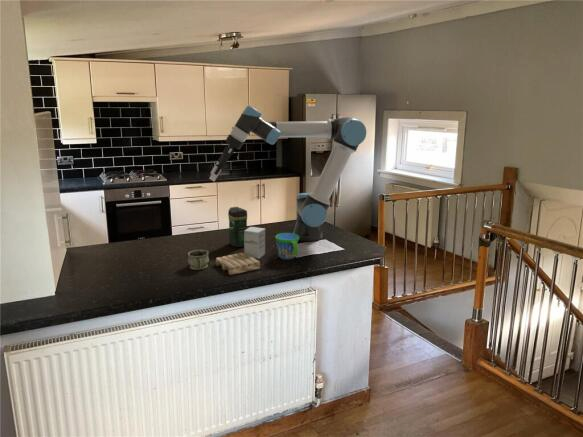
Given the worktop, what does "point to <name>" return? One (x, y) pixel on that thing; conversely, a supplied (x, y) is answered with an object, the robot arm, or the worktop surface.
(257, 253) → the supplement box
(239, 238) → the coffee jar
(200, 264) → the vessel
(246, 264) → the pallet
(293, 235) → the snack cup
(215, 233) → the worktop surface
